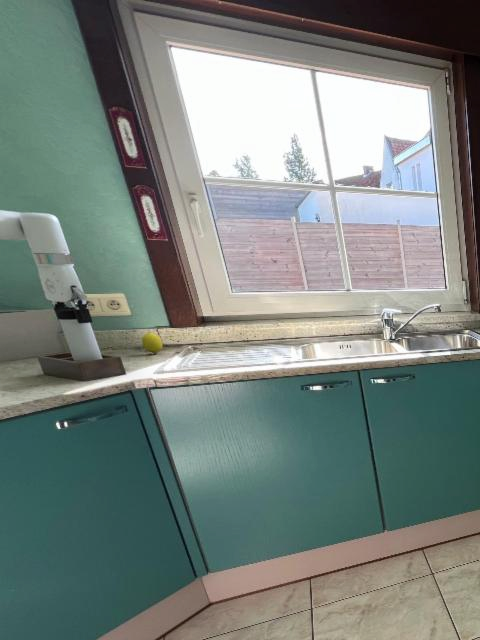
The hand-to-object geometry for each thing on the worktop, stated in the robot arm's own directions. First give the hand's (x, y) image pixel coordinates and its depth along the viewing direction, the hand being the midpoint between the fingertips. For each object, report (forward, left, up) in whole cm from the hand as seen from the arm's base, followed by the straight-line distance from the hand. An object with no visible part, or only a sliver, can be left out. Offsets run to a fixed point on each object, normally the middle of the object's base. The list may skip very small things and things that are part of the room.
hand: (75, 321), depth 147 cm
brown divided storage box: (0, +5, -17) cm, 17 cm away
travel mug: (0, 0, -16) cm, 16 cm away
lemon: (+29, +21, -17) cm, 39 cm away
